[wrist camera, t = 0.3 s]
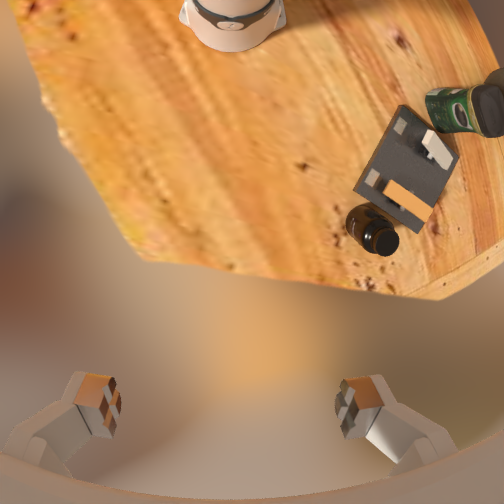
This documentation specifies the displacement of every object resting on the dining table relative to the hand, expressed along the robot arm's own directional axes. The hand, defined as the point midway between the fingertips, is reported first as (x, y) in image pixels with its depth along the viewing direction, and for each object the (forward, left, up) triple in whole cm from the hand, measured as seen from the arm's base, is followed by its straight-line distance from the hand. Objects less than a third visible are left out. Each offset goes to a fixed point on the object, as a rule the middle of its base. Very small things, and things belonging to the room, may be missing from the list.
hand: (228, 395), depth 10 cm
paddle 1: (0, +33, -43) cm, 54 cm away
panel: (-5, +36, -47) cm, 59 cm away
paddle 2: (-11, +38, -43) cm, 58 cm away
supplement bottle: (+6, +26, -47) cm, 54 cm away
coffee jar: (-20, +42, -47) cm, 67 cm away
